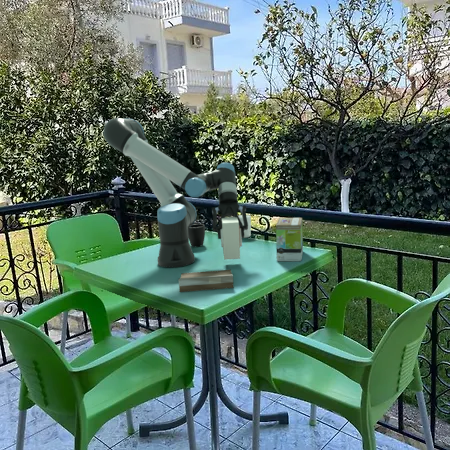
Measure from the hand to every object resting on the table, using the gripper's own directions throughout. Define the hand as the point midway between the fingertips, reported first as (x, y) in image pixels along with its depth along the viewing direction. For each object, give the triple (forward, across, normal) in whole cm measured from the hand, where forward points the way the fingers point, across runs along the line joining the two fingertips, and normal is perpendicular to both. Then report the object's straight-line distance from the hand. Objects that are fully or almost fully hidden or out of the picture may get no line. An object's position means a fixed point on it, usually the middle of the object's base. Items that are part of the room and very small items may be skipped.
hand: (231, 245), depth 168 cm
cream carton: (+1, 0, -6) cm, 6 cm away
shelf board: (+17, +10, +4) cm, 20 cm away
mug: (-22, +14, -36) cm, 44 cm away
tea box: (-1, -24, -14) cm, 28 cm away
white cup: (-29, -8, -42) cm, 52 cm away
